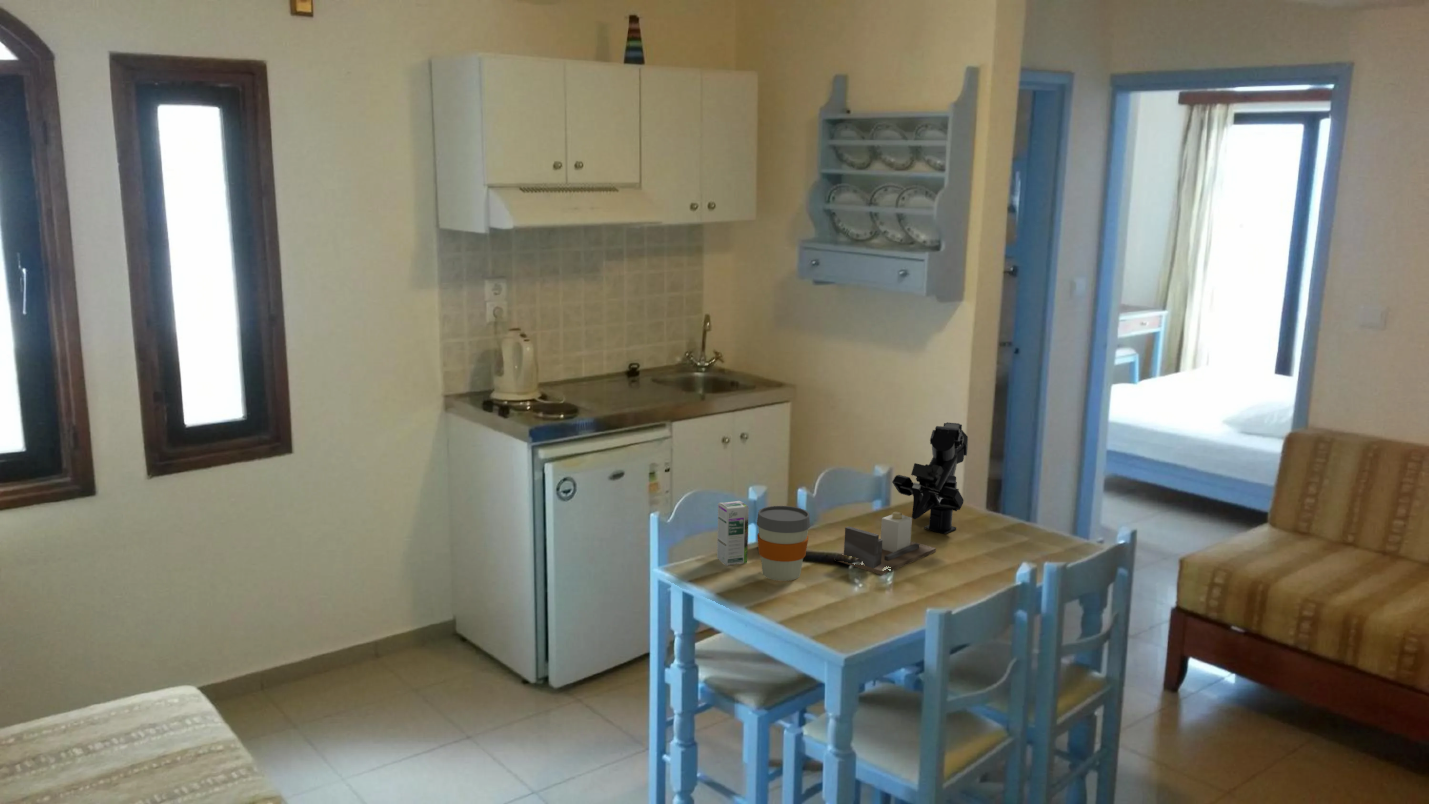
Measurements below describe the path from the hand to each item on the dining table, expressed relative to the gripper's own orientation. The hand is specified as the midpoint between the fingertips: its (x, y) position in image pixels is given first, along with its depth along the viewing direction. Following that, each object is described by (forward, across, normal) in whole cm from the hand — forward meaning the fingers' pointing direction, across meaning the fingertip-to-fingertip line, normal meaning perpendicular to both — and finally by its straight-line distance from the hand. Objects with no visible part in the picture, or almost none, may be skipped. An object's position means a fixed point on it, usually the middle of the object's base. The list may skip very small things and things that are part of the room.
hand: (913, 518), depth 279 cm
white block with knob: (+10, 0, -1) cm, 10 cm away
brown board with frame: (+14, 0, -3) cm, 14 cm away
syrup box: (+35, -24, -25) cm, 50 cm away
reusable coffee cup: (+34, -10, -24) cm, 43 cm away
